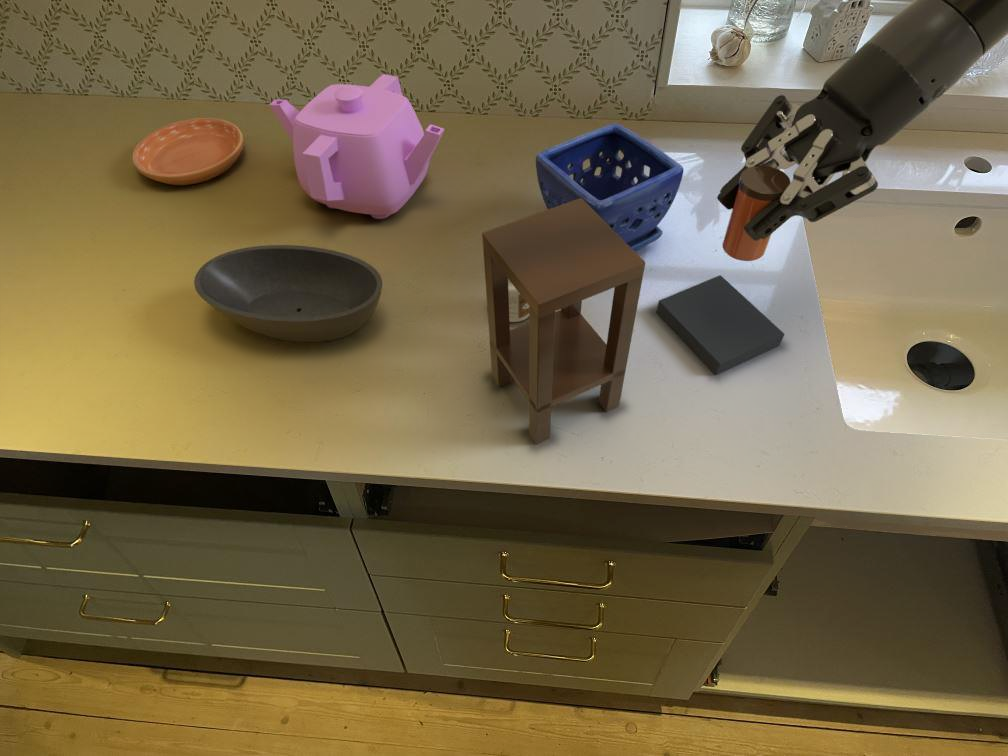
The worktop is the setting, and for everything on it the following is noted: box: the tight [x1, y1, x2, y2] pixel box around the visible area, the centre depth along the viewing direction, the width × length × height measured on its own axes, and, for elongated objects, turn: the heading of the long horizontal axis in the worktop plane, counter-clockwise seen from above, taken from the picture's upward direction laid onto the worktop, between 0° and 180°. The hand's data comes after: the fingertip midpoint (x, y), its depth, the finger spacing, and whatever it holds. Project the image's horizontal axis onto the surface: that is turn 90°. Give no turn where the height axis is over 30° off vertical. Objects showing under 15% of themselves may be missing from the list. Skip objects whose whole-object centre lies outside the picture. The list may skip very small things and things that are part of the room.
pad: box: [656, 274, 785, 376], centre depth 74 cm, size 11×9×2 cm
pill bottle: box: [508, 279, 529, 323], centre depth 75 cm, size 4×4×8 cm
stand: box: [481, 198, 646, 445], centre depth 62 cm, size 10×10×20 cm
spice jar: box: [721, 166, 791, 262], centre depth 62 cm, size 4×4×8 cm
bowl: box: [193, 244, 383, 343], centre depth 75 cm, size 12×22×6 cm, turn 79°
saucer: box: [131, 117, 245, 186], centre depth 99 cm, size 16×16×3 cm
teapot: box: [268, 73, 445, 220], centre depth 88 cm, size 19×18×15 cm
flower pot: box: [535, 122, 684, 252], centre depth 81 cm, size 13×13×12 cm
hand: (736, 218), depth 62 cm, fingers closed on spice jar, 4 cm apart
